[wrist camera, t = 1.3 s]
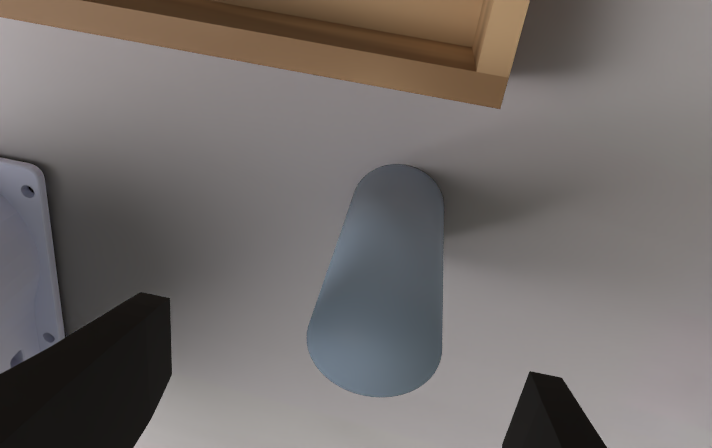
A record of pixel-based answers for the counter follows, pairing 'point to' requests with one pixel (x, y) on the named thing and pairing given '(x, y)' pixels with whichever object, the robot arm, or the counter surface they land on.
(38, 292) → the robot arm
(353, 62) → the tray box
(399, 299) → the dowel
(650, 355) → the counter surface
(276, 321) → the counter surface
